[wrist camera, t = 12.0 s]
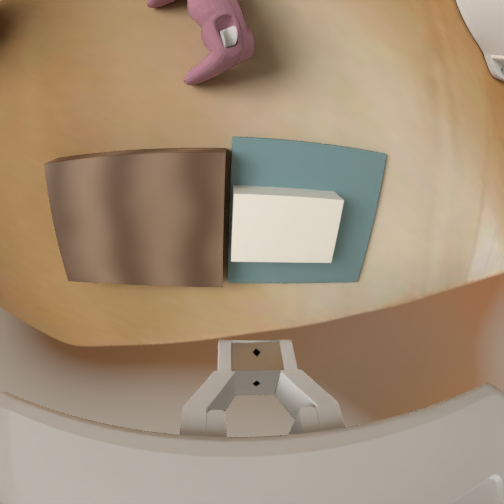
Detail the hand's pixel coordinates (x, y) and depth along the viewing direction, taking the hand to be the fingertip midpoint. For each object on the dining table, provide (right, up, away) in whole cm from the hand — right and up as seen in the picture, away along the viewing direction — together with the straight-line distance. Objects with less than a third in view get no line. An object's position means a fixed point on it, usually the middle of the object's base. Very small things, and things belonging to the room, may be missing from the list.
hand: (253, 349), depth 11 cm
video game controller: (-4, +22, +6) cm, 23 cm away
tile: (+3, +7, +14) cm, 16 cm away
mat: (+5, +7, +14) cm, 17 cm away
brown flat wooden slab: (-11, +7, +13) cm, 18 cm away
